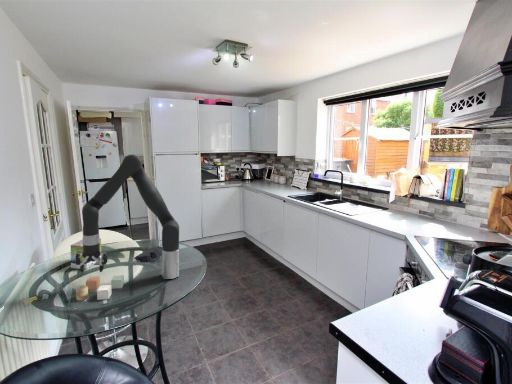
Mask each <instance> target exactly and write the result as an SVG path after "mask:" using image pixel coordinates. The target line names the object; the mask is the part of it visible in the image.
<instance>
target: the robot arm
mask: <svg viewBox="0 0 512 384" xmlns="http://www.w3.org/2000/svg"><path fill="white" fill-rule="evenodd" d="M142 164H143V163H142V160H141V158H140V157H139V156H138V155H135V154H128V155H125V156H124V157H123V159H122V162H121V164H120V166H119V167H118V169H116V171H115V173H114V174H113V175H112V176H111V177H110V178H109V179H108V180H107V181H105V183H104V184H103V185H102V186H101V187H100V188H99V189H98V190H97V191H96V193H95V194H94V196H93V197H91V198H90V199H89V200H88V201H87V202H86V203H85V204H84V205H83V206H82V209H81V211H82V212H81V217H82V239H83V241H82V243H83V253H80V252H78V253H77V254H76V265H80V269H79V271H80V272H81V273H82V274H83V273H84V272H85V271H86V269H85V265H84V263H85V262H86V261H88V262H90V261H96V264H98V265H99V273H102V272H103V271H104V269H105V266H104V265H107V263H108V252H107V251H104V252H101V253H100V226H99V220H100V219H99V217H100V216H99V215H100V214H99V213H100V212H99V211H100V210H101V208H102V207H103V206H105V205H107V204H108V203H109V202H110V201H111V200H112V199H113V197H114V196H115V195H116V194H117V193H118V191H119V190H120V189H121V187H122V186H123V185H124V184H125V182H126V181H128V179H129V178H132V180H133V181H134V183H135V186H136V188H137V191H138V192H139V194H140V196H141V199H142V200H143V201H144V202H143V203H145V206H147V208H148V209H149V211H151V212H152V213H153V214H154V215H155V216H156V218H157V219H158V221H159V223H160V226H161V227H162V229H161V247H162V254H161V257H162V262H161V264H162V265H161V267H162V269H161V271H162V272H161V278H162V277H163V278H166V279H173V278H176V277H178V276H180V225H179V224H178V221H177V220H176V219H175V218H174V217H173V215H172V214H171V212H170V211H169V209H168V207H167V204H166V201H164V198H163V196H162V195H161V193H160V191H159V190H158V188H157V187H156V185H155V184H154V183H153V182H152V180H151V179H150V177H149V176H148V175H147V173H146V171H145V169H144V166H143V165H142ZM100 255H101V258H100V257H99V256H100ZM81 256H83V257H84V258H85V259H84V260H83V261H82V262H80V257H81ZM163 278H162V279H163ZM178 278H179V277H178ZM176 279H177V278H176ZM173 280H174V279H173Z"/></svg>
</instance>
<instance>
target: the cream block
mask: <svg viewBox="0 0 512 384" xmlns="http://www.w3.org/2000/svg"><path fill="white" fill-rule="evenodd" d="M112 291H113V289H112V288H111V284H102V285H101V284H100V286H99V287H98V288H97V289H96V300H97V301H99V300H109V299H110V298H111V295H112Z"/></svg>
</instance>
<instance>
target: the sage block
mask: <svg viewBox="0 0 512 384" xmlns="http://www.w3.org/2000/svg"><path fill="white" fill-rule="evenodd" d="M110 283H111V284H110V285H111V288H112V290H113V289H122V288H123V286H124V284H125V275H124V274H121V275H116V274H115V275H113V277H112V278H111V280H110Z"/></svg>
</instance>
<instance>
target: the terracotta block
mask: <svg viewBox="0 0 512 384" xmlns="http://www.w3.org/2000/svg"><path fill="white" fill-rule="evenodd" d="M100 285H101V277H100V275H99V276H98V275H94V276H89V277H87V278H86V281H85V286H87V287H88V291H92V290H93V291H94V290H96V291H97V290H98V288H99V287H100Z"/></svg>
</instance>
